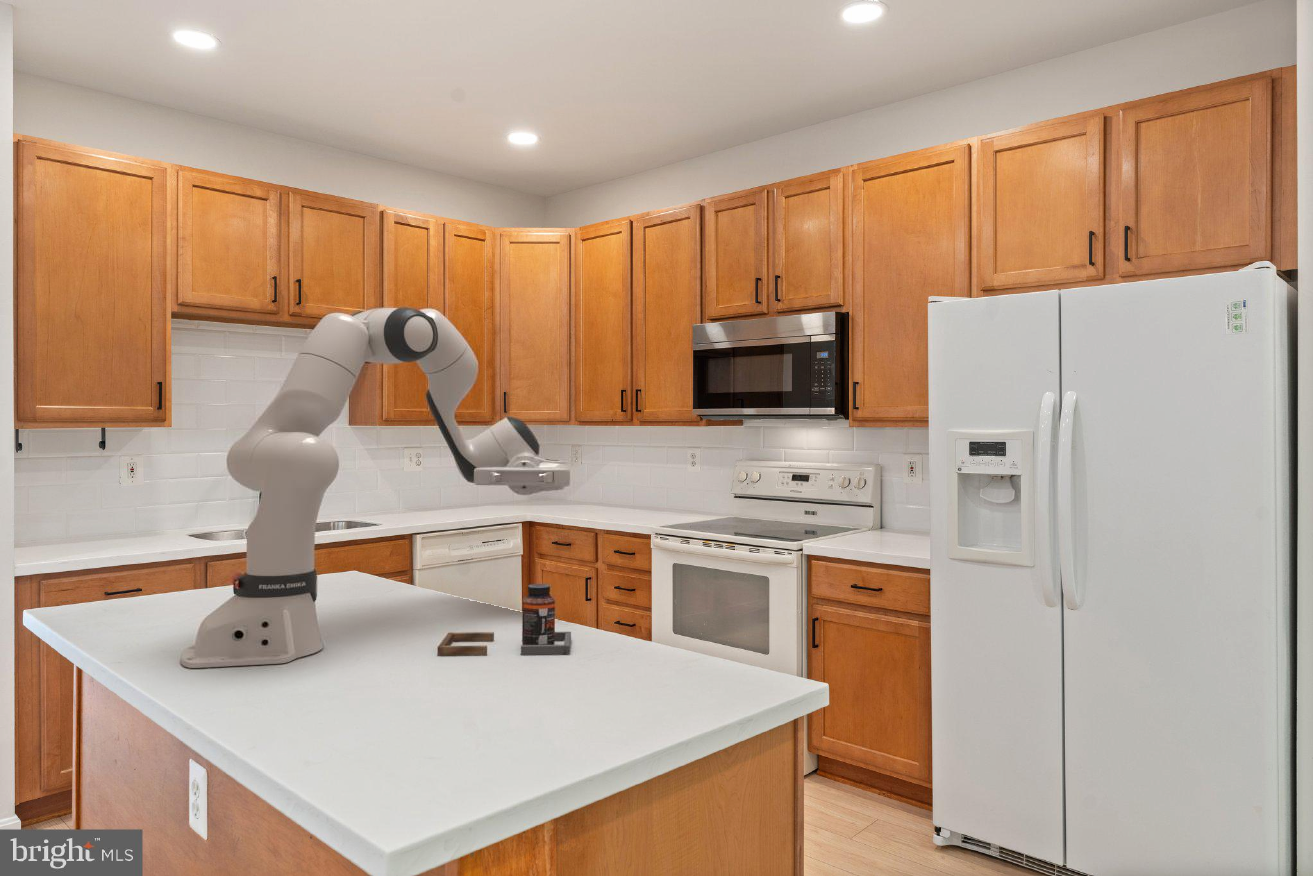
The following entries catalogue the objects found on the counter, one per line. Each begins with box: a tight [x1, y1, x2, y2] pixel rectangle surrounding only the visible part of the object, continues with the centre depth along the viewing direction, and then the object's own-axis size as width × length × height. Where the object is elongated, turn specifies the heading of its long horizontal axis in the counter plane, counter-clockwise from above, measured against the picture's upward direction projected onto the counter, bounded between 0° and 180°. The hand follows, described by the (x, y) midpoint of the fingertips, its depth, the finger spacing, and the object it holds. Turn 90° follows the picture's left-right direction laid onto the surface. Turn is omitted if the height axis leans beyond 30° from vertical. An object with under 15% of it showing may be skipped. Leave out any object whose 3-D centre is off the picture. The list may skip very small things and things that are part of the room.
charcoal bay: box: [520, 631, 572, 656], centre depth 155 cm, size 8×11×2 cm
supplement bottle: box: [521, 583, 556, 645], centre depth 155 cm, size 6×6×11 cm
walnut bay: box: [436, 631, 495, 657], centre depth 154 cm, size 8×11×2 cm
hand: (519, 478), depth 173 cm, fingers open, 8 cm apart
